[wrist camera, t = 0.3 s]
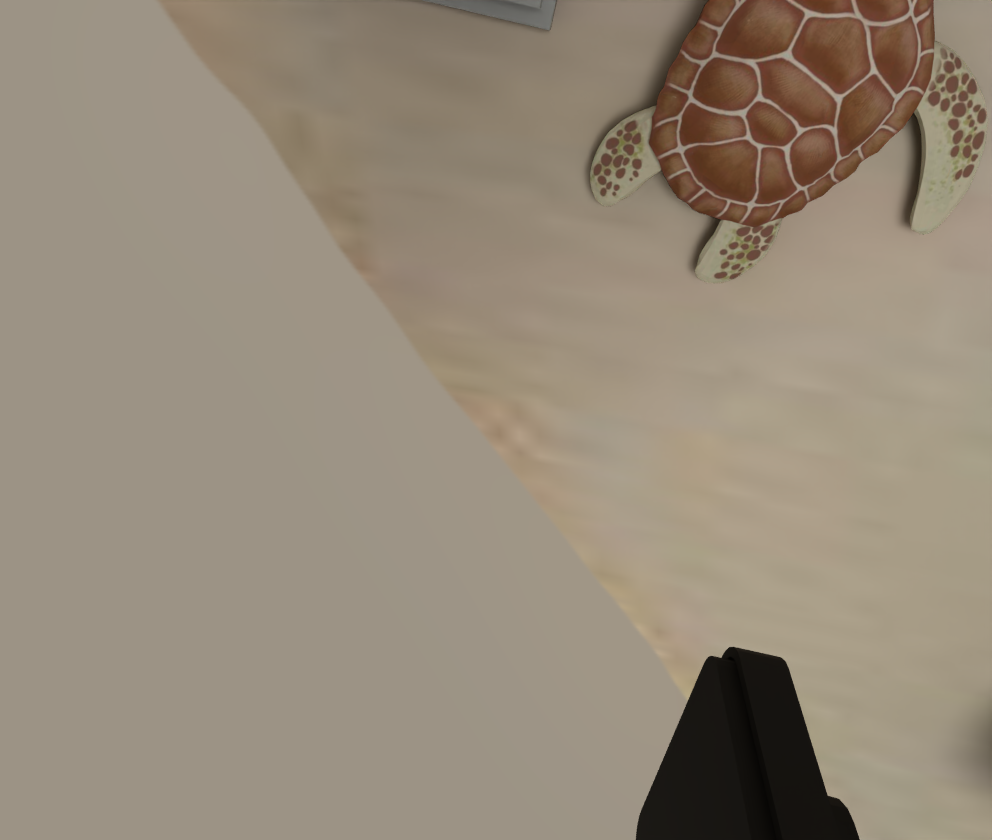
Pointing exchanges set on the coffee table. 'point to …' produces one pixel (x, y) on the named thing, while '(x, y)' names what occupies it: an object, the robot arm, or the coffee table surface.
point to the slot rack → (509, 10)
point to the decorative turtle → (796, 117)
